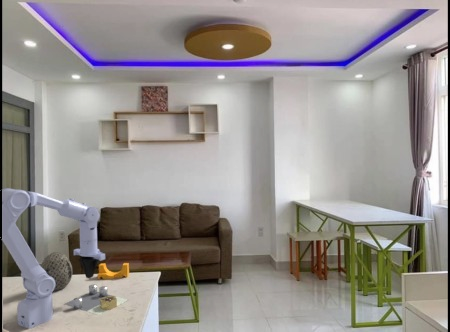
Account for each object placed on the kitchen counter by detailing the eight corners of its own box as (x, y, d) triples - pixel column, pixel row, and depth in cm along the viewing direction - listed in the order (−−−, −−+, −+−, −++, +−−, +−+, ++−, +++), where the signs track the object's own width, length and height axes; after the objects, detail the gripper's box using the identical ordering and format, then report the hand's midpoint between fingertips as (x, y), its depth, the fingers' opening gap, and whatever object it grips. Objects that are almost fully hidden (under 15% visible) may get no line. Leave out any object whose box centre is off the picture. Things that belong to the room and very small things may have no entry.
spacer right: (103, 297, 125) (102, 289, 125) (97, 296, 126) (97, 288, 126) (109, 294, 128) (108, 287, 127) (103, 293, 129) (103, 285, 129)
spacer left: (77, 310, 116) (77, 301, 115) (71, 308, 117) (71, 299, 117) (84, 306, 118) (84, 298, 118) (78, 305, 119) (78, 296, 119)
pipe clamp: (97, 281, 144) (97, 266, 144) (101, 278, 148) (101, 263, 148) (126, 281, 144) (125, 266, 144) (129, 277, 148) (128, 263, 148)
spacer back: (92, 295, 127) (92, 287, 127) (87, 294, 128) (87, 286, 128) (98, 292, 130) (98, 285, 129) (93, 291, 131) (93, 283, 131)
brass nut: (107, 311, 114) (106, 303, 114) (96, 308, 117) (96, 300, 117) (120, 304, 119) (119, 297, 119) (109, 301, 122) (109, 294, 122)
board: (99, 318, 112) (99, 315, 112) (63, 306, 120) (63, 304, 120) (128, 302, 123) (128, 299, 123) (93, 293, 132) (93, 290, 132)
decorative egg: (64, 296, 130) (62, 257, 129) (33, 296, 130) (32, 257, 129) (78, 284, 141) (76, 248, 141) (49, 284, 142) (48, 248, 141)
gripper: (111, 239, 122) (112, 276, 123) (84, 235, 129) (85, 270, 130) (95, 244, 116) (96, 283, 117) (67, 239, 123) (69, 276, 124)
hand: (89, 277), depth 123 cm, fingers closed
